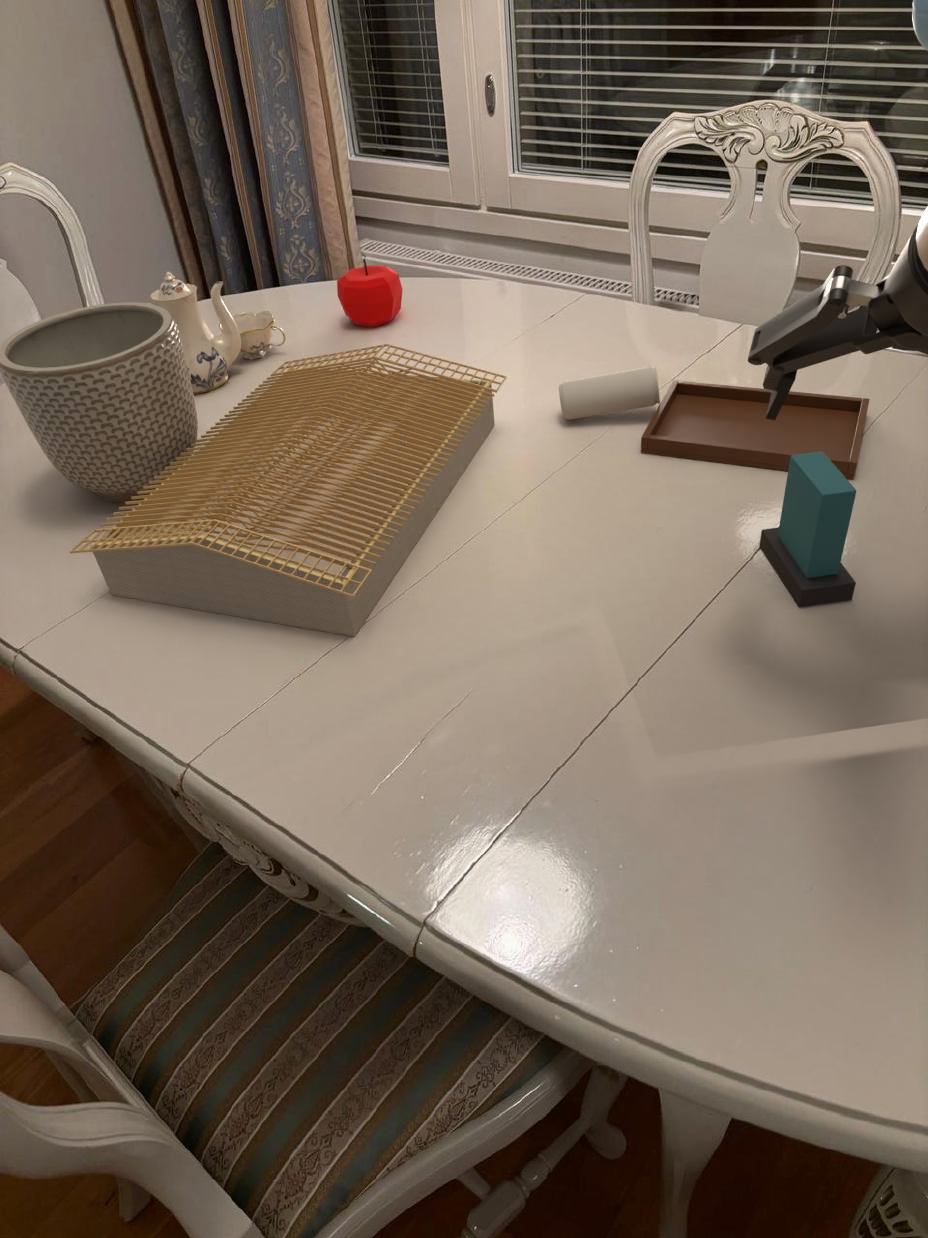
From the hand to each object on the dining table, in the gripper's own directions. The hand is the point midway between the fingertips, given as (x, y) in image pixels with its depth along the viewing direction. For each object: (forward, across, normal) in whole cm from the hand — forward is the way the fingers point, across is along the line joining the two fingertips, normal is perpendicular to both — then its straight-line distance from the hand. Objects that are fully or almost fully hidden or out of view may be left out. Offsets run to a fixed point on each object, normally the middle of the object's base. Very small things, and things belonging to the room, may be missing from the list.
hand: (860, 421), depth 70 cm
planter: (+31, -76, -10) cm, 83 cm away
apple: (+60, -65, +34) cm, 95 cm away
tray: (+34, -4, +14) cm, 37 cm away
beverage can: (+36, -28, +14) cm, 48 cm away
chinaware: (+50, -85, +14) cm, 99 cm away
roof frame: (+27, -51, -8) cm, 58 cm away
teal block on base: (+18, +1, -7) cm, 19 cm away
